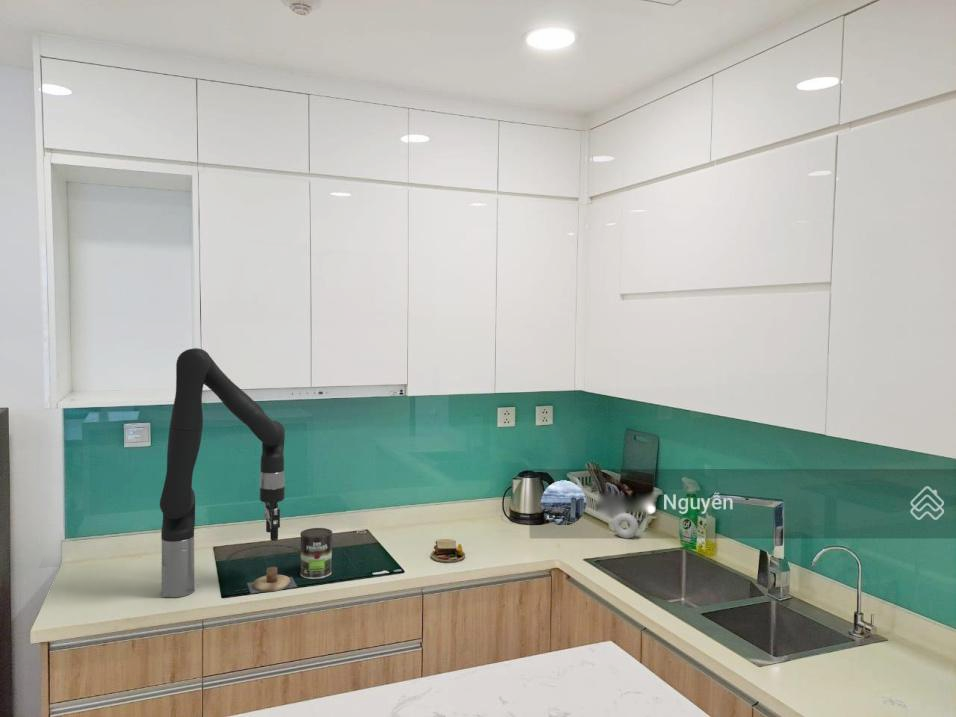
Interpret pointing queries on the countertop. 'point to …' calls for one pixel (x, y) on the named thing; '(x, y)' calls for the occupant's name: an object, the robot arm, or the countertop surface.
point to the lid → (271, 581)
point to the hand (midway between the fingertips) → (271, 535)
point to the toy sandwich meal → (447, 551)
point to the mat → (253, 590)
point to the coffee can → (316, 553)
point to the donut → (625, 518)
